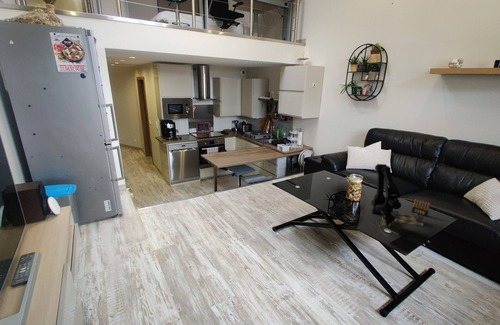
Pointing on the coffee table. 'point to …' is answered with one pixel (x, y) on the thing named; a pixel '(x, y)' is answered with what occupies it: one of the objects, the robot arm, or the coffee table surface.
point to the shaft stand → (408, 218)
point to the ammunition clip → (420, 208)
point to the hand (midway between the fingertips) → (385, 222)
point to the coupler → (384, 221)
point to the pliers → (381, 227)
